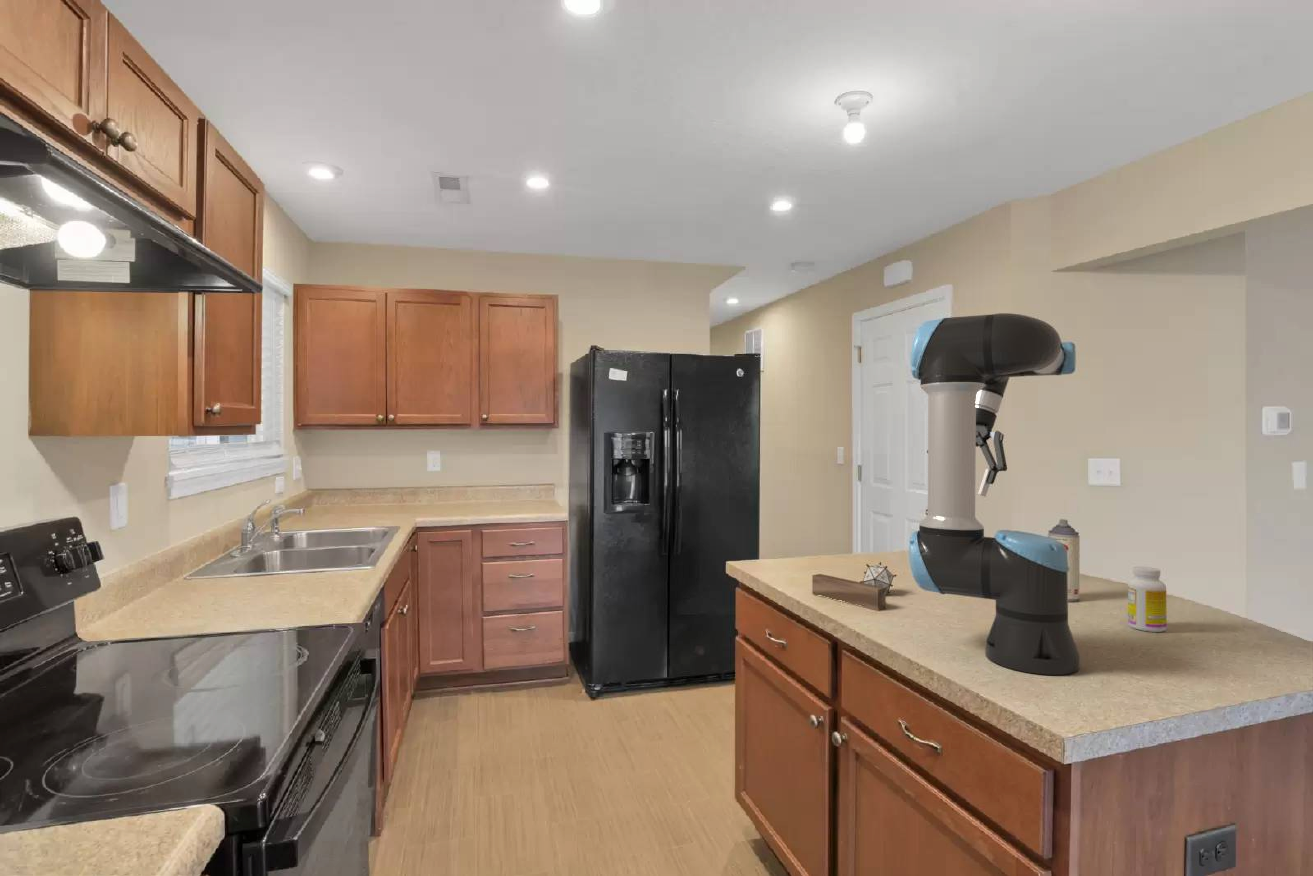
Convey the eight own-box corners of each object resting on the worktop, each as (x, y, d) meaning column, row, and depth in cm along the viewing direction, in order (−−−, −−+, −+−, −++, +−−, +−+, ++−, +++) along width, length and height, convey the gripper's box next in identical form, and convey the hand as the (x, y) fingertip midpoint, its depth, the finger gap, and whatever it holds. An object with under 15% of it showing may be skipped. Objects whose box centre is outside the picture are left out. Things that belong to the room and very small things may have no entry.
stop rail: (877, 610, 158) (877, 589, 158) (812, 594, 174) (812, 575, 174) (885, 608, 160) (885, 587, 160) (820, 592, 176) (820, 573, 176)
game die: (885, 609, 173) (904, 583, 168) (855, 597, 173) (873, 571, 168) (882, 585, 181) (900, 560, 175) (853, 574, 181) (870, 548, 175)
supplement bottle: (1172, 630, 142) (1172, 569, 142) (1157, 635, 138) (1157, 573, 138) (1136, 622, 148) (1136, 564, 148) (1121, 627, 144) (1122, 567, 144)
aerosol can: (1041, 597, 170) (1041, 518, 170) (1060, 594, 173) (1060, 517, 173) (1066, 603, 164) (1067, 522, 164) (1085, 600, 167) (1085, 520, 166)
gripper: (1037, 422, 164) (1011, 504, 163) (943, 408, 183) (919, 481, 182) (1025, 413, 159) (998, 497, 158) (930, 399, 179) (905, 474, 178)
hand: (955, 488), depth 170 cm, fingers open, 13 cm apart
